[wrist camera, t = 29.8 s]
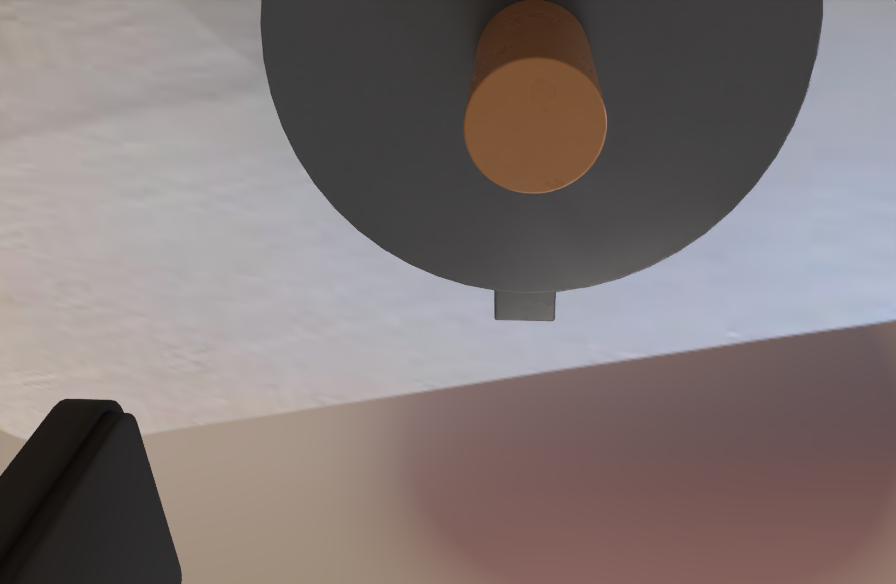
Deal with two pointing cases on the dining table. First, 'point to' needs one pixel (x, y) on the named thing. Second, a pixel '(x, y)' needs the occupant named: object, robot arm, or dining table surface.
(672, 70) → the lid
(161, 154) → the dining table surface
